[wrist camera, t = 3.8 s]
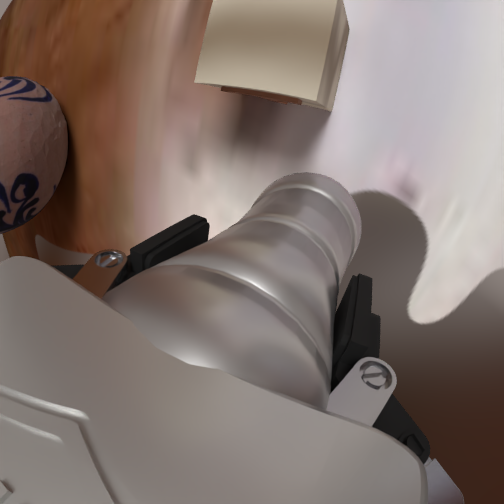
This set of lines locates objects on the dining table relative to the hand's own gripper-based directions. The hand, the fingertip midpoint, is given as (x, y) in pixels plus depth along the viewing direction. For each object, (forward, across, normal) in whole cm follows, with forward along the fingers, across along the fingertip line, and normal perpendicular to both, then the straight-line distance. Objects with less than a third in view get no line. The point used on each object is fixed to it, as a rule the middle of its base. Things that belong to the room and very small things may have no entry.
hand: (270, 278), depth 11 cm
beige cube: (+9, +4, -10) cm, 14 cm away
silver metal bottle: (+9, 0, 0) cm, 9 cm away
